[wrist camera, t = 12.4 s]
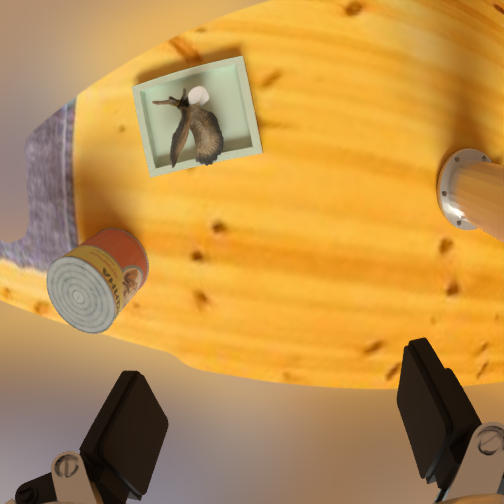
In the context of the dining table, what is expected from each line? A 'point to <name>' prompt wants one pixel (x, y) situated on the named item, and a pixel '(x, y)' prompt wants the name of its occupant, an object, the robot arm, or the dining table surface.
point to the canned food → (97, 279)
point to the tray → (220, 104)
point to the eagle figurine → (195, 127)
